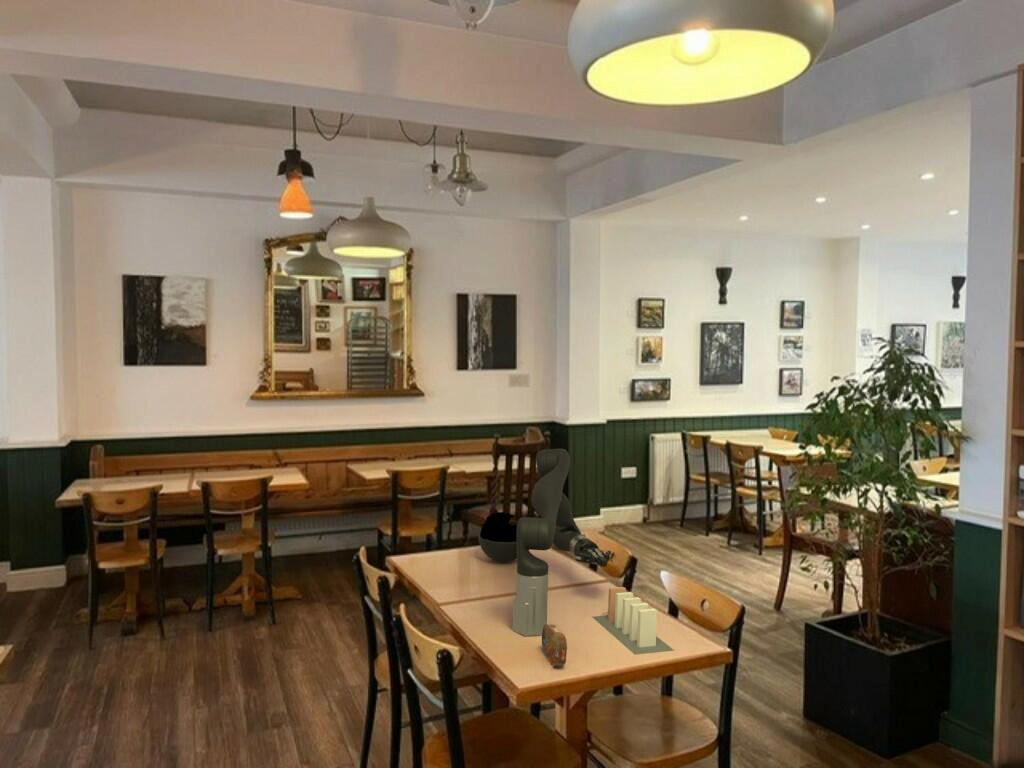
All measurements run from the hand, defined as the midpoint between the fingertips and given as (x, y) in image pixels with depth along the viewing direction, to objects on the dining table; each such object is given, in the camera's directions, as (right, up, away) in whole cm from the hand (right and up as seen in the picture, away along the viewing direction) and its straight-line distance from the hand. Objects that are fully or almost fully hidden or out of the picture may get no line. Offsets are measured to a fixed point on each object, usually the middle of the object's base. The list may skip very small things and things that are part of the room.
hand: (604, 563), depth 240 cm
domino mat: (+5, -16, -19) cm, 25 cm away
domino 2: (+4, -15, -14) cm, 21 cm away
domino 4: (+7, -16, -24) cm, 29 cm away
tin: (-18, -17, -38) cm, 46 cm away
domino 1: (+3, -15, -9) cm, 18 cm away
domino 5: (+8, -16, -28) cm, 34 cm away
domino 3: (+5, -16, -19) cm, 25 cm away
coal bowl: (-33, -12, +54) cm, 65 cm away
